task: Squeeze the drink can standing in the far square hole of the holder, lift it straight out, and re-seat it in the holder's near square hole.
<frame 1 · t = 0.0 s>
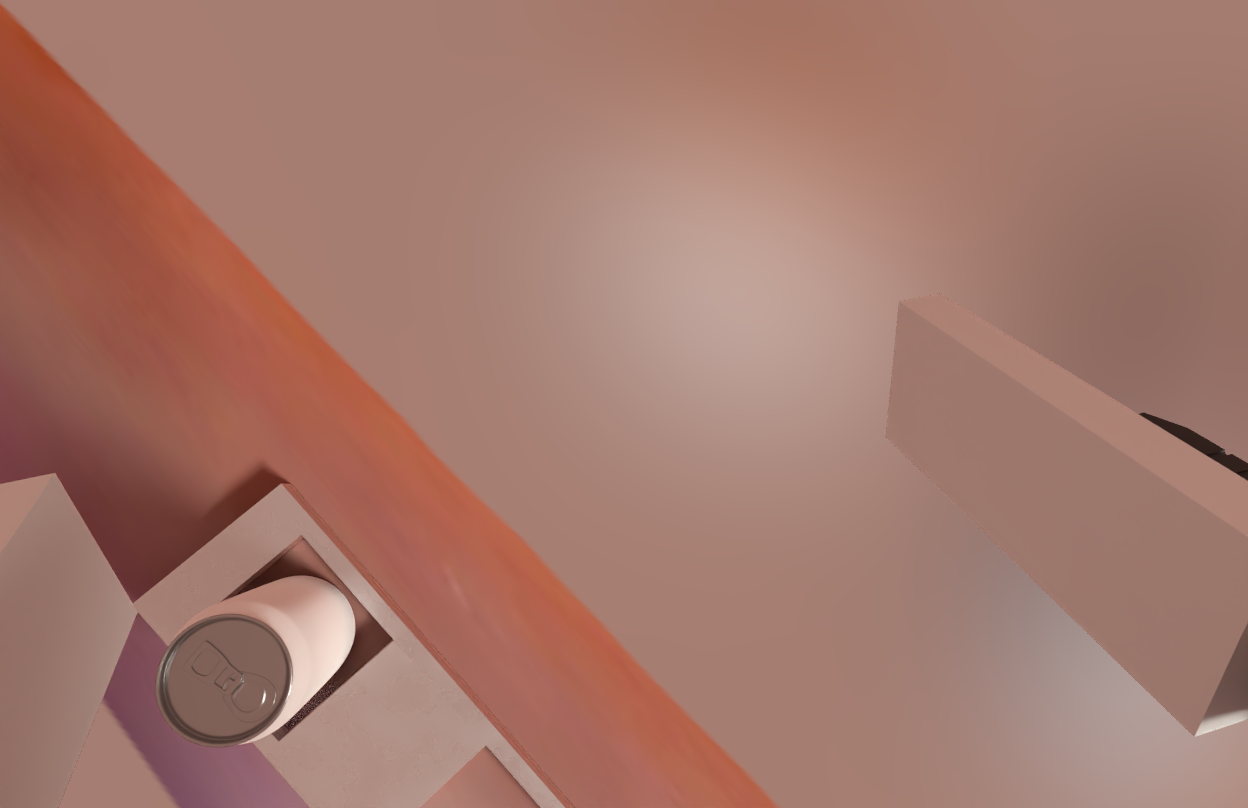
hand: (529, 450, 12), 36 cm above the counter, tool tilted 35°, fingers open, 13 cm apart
holder: (389, 732, 45), on the counter
can: (300, 629, 45), resting in holder
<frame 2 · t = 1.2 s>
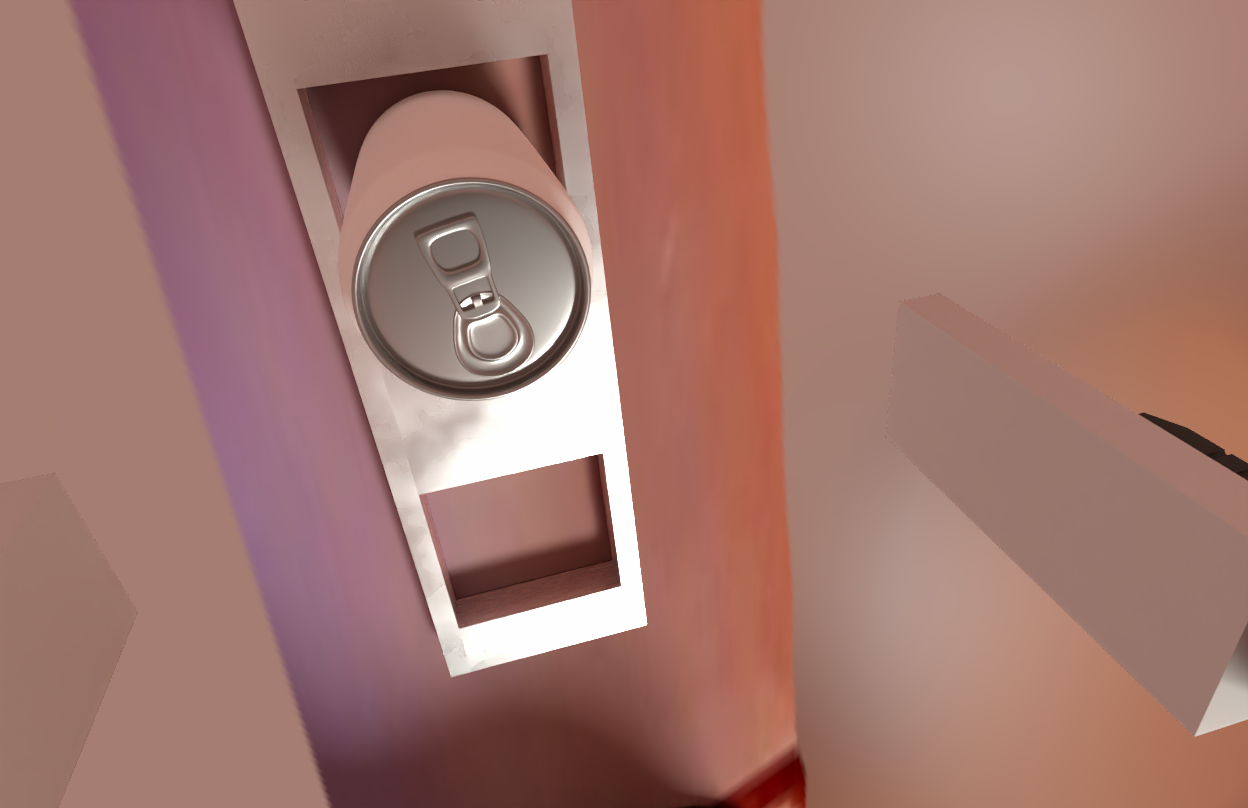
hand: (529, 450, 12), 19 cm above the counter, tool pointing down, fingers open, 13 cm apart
holder: (490, 370, 32), on the counter
can: (448, 180, 28), resting in holder
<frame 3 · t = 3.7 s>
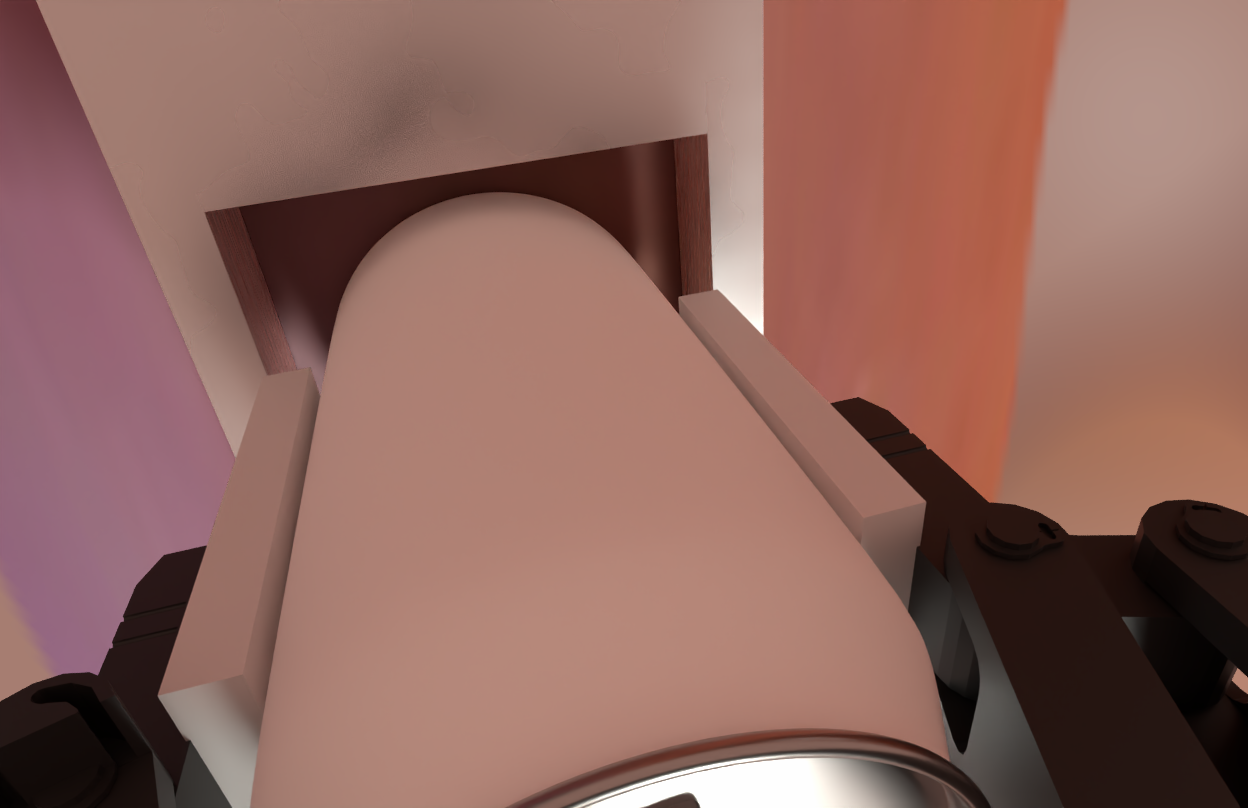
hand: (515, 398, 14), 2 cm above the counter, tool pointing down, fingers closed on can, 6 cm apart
holder: (554, 615, 20), on the counter
can: (499, 337, 16), resting in holder, touching gripper
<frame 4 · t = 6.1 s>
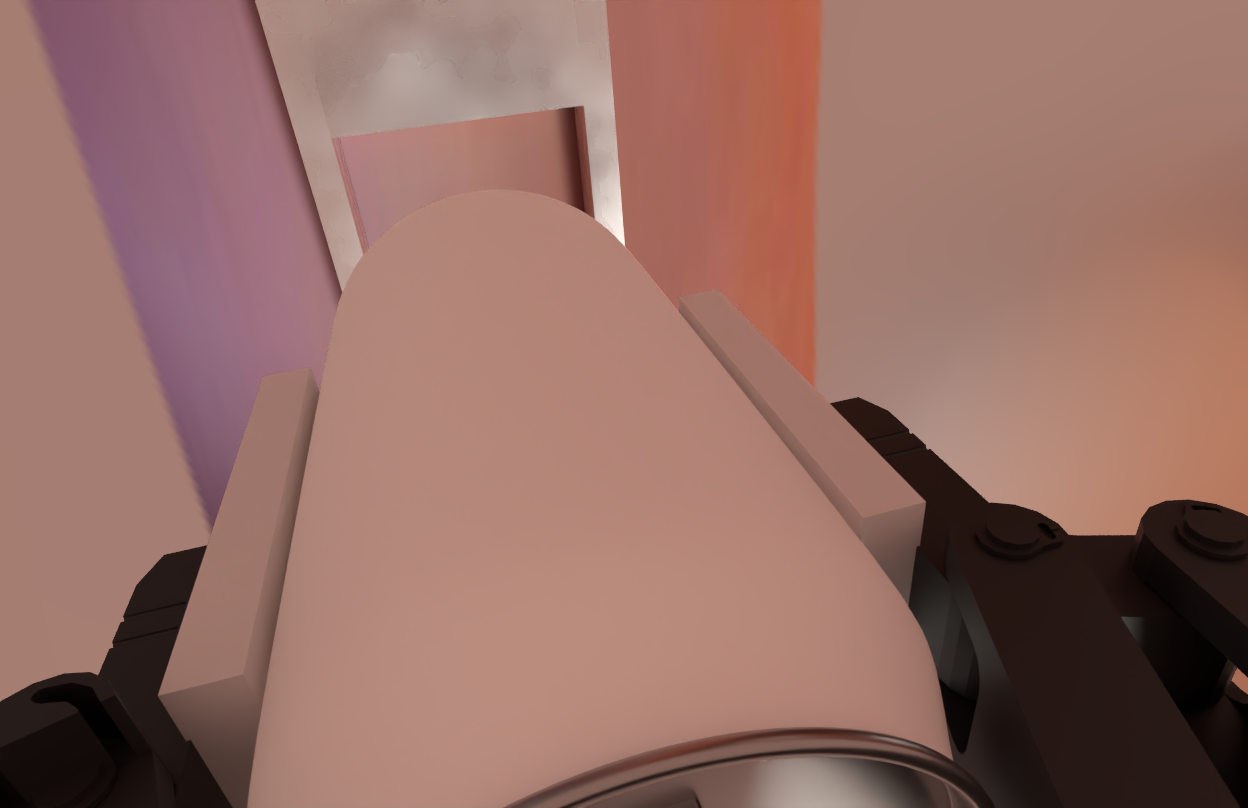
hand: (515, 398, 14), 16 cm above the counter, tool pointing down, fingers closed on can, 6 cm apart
can: (498, 336, 16), point 13 cm above the counter, touching gripper
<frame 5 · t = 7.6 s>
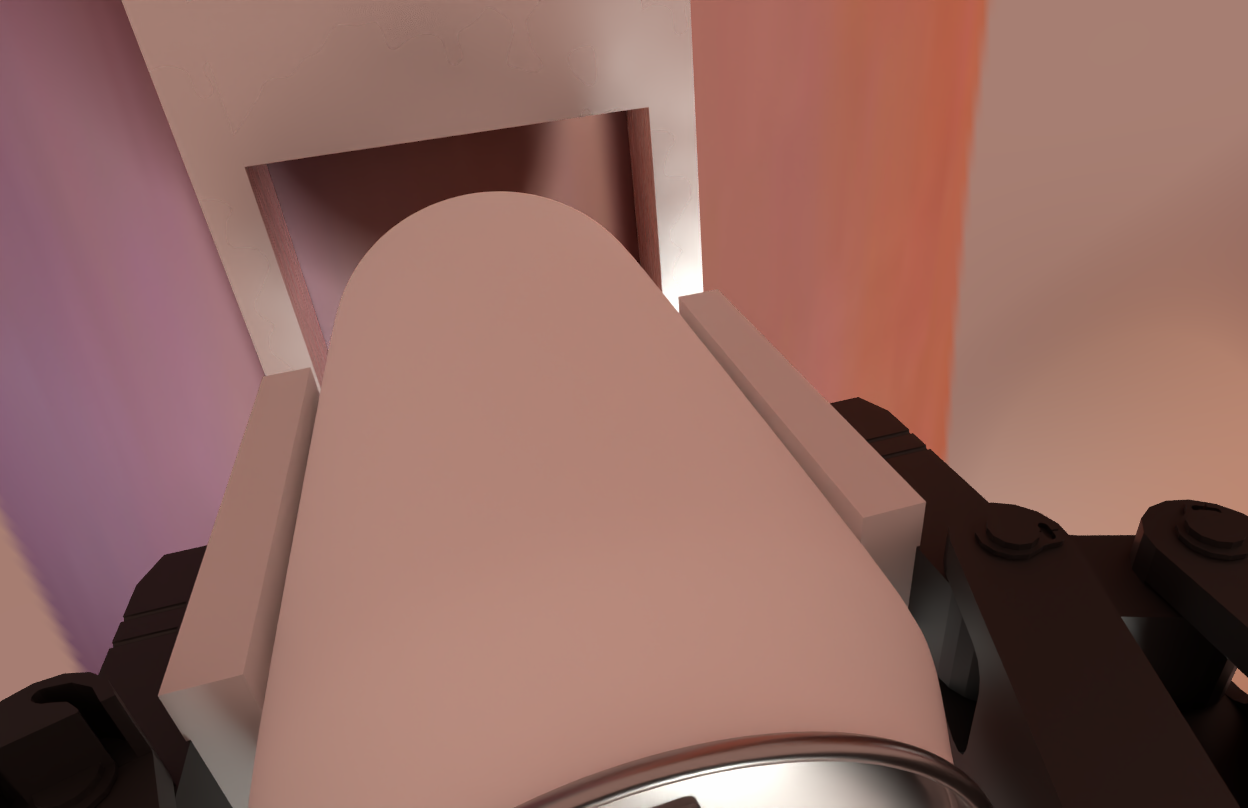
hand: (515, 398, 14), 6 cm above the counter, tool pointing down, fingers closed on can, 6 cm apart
can: (499, 337, 16), point 3 cm above the counter, touching gripper
when the fingers open (3 cm above the counter, at t = 8.8 s): can stays where it is, resting in holder.
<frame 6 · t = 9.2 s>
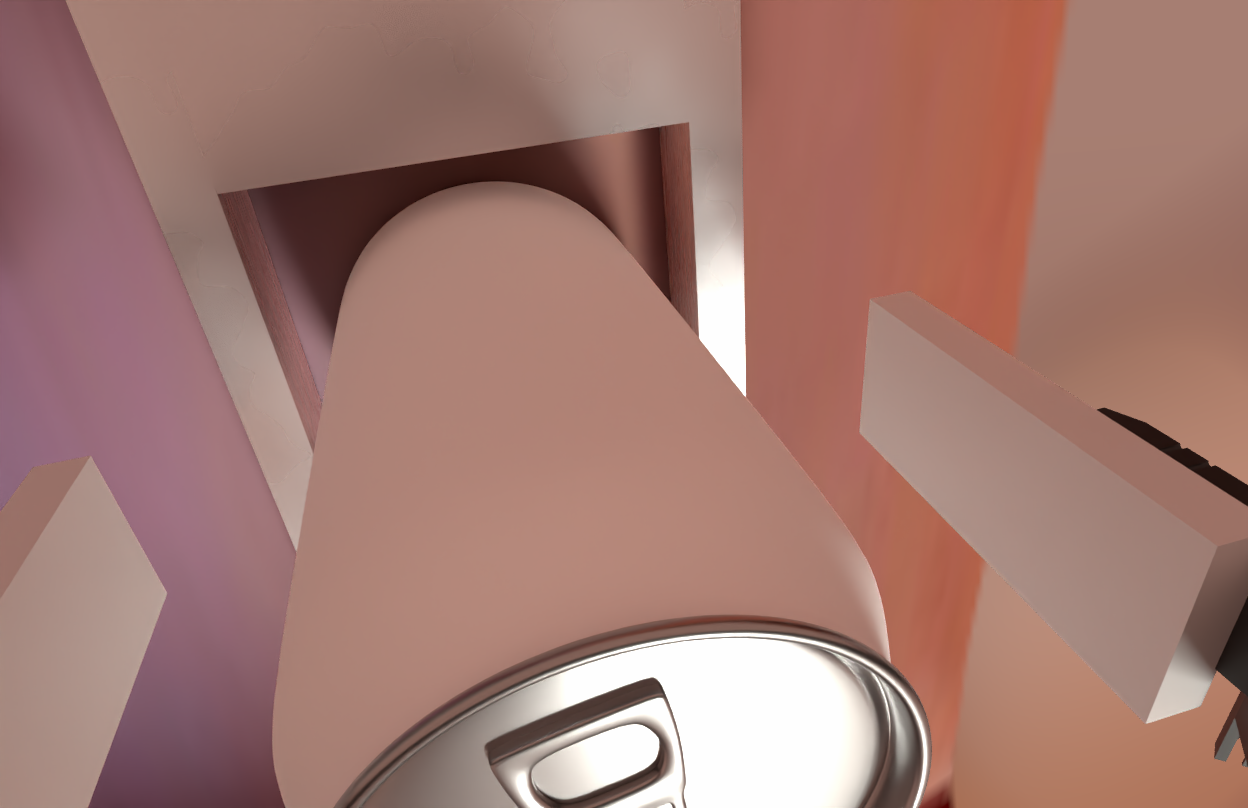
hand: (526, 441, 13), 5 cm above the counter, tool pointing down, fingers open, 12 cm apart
can: (496, 321, 17), resting in holder
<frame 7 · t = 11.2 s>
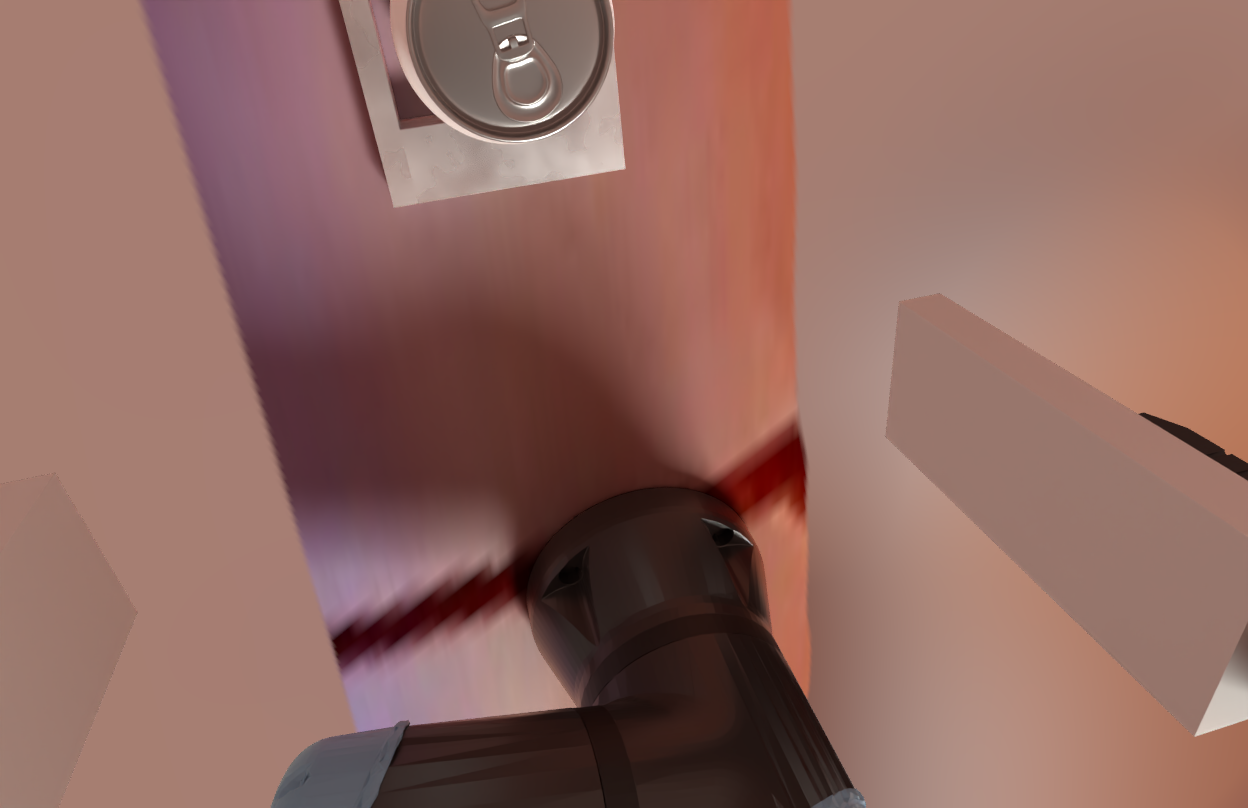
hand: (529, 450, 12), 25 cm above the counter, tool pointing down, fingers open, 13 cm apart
can: (476, 1, 31), resting in holder
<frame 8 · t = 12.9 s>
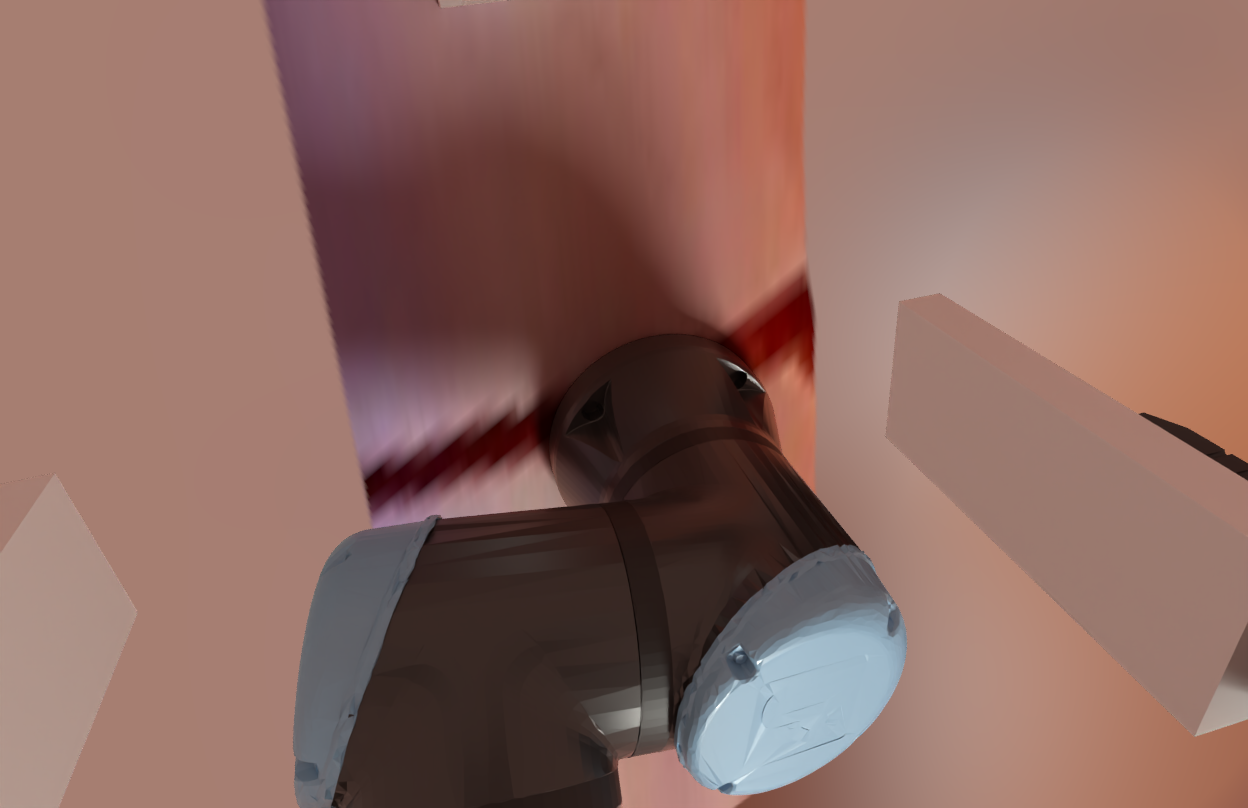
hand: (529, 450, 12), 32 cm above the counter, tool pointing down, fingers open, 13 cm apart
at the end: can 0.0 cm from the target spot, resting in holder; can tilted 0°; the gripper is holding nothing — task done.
